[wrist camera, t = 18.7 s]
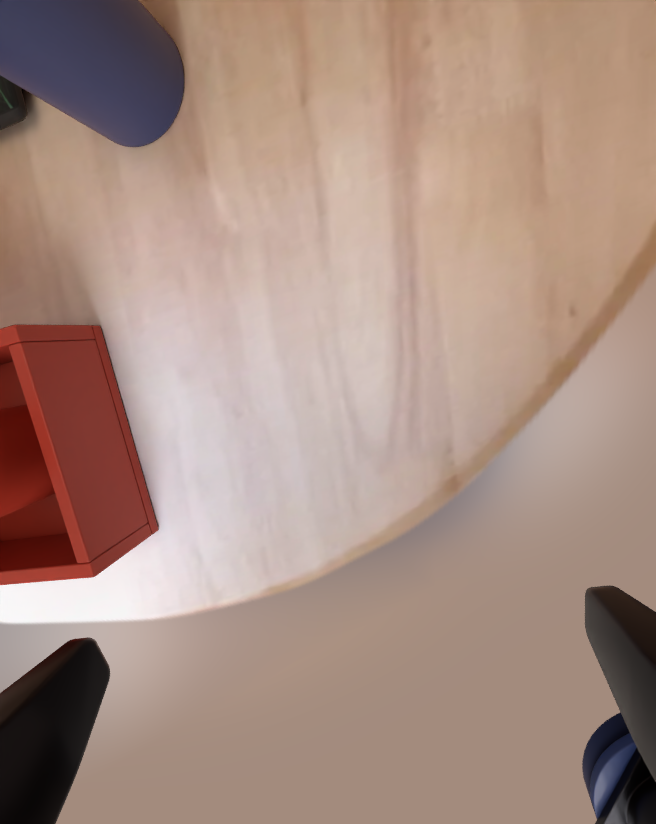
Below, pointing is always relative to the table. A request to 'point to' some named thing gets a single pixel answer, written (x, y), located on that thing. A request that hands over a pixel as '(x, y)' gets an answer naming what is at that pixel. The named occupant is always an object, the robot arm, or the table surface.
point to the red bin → (71, 457)
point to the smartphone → (11, 104)
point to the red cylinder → (21, 462)
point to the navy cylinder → (95, 64)
